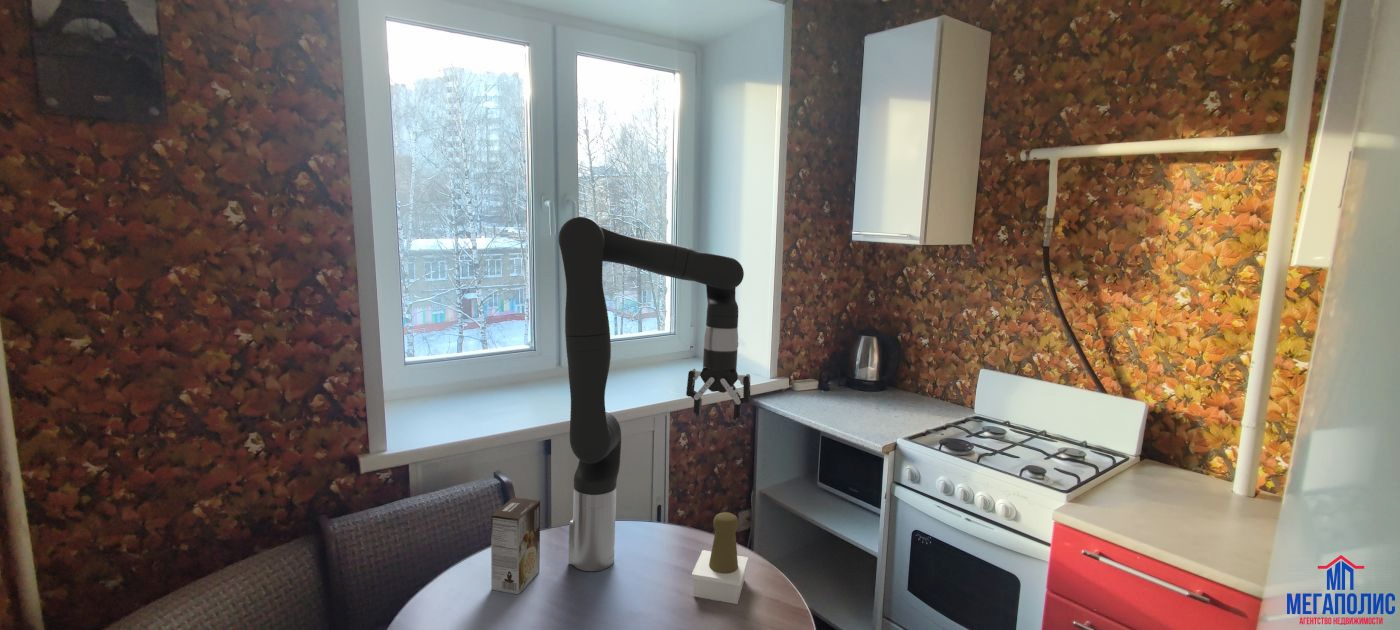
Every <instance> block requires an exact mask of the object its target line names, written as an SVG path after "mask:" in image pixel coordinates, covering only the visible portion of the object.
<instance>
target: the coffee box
mask: <svg viewBox="0 0 1400 630" xmlns="http://www.w3.org/2000/svg"><path fill="white" fill-rule="evenodd" d="M490 518H491V522H490V525H491V527H490V534H491V536H490V539H491V540H490V545H491V548H490V549H491V550H490V551H491V553H490V554H491V557H490V558H491V563H490V564H491V567H490V568H491V570H490V571H491V577H490V579H491V584H490V585H491V590H492V591H496V592H497V591H498V592H502V593H509V594H515V595H520V594H521V593H522V591H523V590H524V589H525V588H526V587H527V586H528V585H529V584H530V582H532V581H533V579H534V578H535V577H536V576H537V575H538V573H539V572H540V568H541V567H540V566H541V565H540V564H541V562H540V560H541V553H540V552H541V500H540V499H530V498H525V497H524V498H521V497H512V498H510V499H509V500H508V501H507V502H506V503H504V504H503V505H502V506H500V508H498V509H497V510H496V511H495V512H493V513H492V514H491V515H490Z"/></svg>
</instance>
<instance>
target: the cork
mask: <svg viewBox="0 0 1400 630" xmlns="http://www.w3.org/2000/svg"><path fill="white" fill-rule="evenodd" d="M712 524H713V525H712V526H713V528H714V537H713V540H712V541H713V542H712V547H711V550H710V551H711V557H710V562H709V567H710V568H711V569H712V570H713V571H715V572H717V573H722V574H728V573H733V572H735V571H736V570H737V569H738V559H737V556H738V550H737V549H738V548H737V547H738V546H737V536H736V532H737V531H738V528H739V525H740V524H739V519H738V517H737V516H736V515H735V514H733V513H731V512H727V511H726V512H724V511H723V512H720V513H717V514H716V515H715V516H714V518H713V523H712Z"/></svg>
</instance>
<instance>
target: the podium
mask: <svg viewBox="0 0 1400 630" xmlns="http://www.w3.org/2000/svg"><path fill="white" fill-rule="evenodd" d="M711 551H712V550H705V549H702V551H701V553H700V554H699V557H698V559H697V561H696V564H695V566H694V568H693V570H692V573H691V579H693V580H694V581H693V582H694V583H693V597H696V598H699V599H700V598H701V599H706V600H712V601H717V602H718V601H719V602H723V603H728V604H735V605H738V603H739V600H740V596H741V593H742V589H743V586H744V582H745V577H746V576H745V575H746V570H747V566H748V563H749V557H748V556H743V555H737V559H738V569H737V570H736V571H735V572H733V573H728V574H722V573H717V572H715V571H713V570H712V569H711V568H710V567H709V562H710V557H711Z"/></svg>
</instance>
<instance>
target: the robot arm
mask: <svg viewBox="0 0 1400 630" xmlns="http://www.w3.org/2000/svg"><path fill="white" fill-rule="evenodd" d="M558 245H559V246H558V247H559V249H560V254H561V258H562V265H563V270H564V276H565V286H566V289H565V290H566V294H565V315H564V317H565V318H564V332H565V333H564V334H565V347H566V358H567V369H568V370H567V371H568V372H567V373H568V380H569V381H568V382H569V393H570V416H569V419H570V420H569V444H570V448H571V450H572V452H573V454H574V455H575V457H576V458H577V459H578V464H577V467H576V470H575V473H574V476H573V500H572V501H573V503H572V504H573V505H572V507H573V508H572V519H571V520H570V521H569V524H568V557H567V558H568V563H567V564H568V565H571V566H574V567H575V569H578V570H580V571H583V572H584V571H585V572H599V571H602V570H605V569H607V568H610V566H612V565H613V563H614V561H615V545H616V544H615V543H616V511H617V510H616V508H617V481H618V476H619V473H620V467H621V466H620V465H621V452H622V451H621V450H622V449H621V448H622V429H621V426H620V422H619V421H618V419H617V418H616V417H615V416H614V415H613V414H611V413H610V412H607V411H606V400H605V396H606V387H607V383H608V382H607V380H608V375H609V372H610V365H611V358H612V357H611V356H612V355H611V354H612V347H611V346H612V345H611V329H610V321H609V313H608V308H607V307H608V306H607V303H606V297H605V293H604V286H603V262H606V263H607V262H608V263H613V264H614V263H615V264H620V265H623V266H624V265H625V266H629V267H632V268H636V269H640V270H644V271H647V272H650V273H653V274H657V275H661V276H665V277H669V278H673V279H678V280H681V281H682V280H683V281H688V282H689V281H690V282H696V283H699V284H702V285H705V287H706V288H705V290H706V299H707V302H706V303H707V307H706V316H705V317H706V321H705V330H704V331H705V332H704V335H703V338H704V339H703V342H704V343H703V357H702V358H703V359H702V369H701V370H696V368H691V369H690V370H689V371H688V373H687V374H688V376H687V382H686V384H687V385H686V392H685V393H686V397H690V398H692V399H693V414H695V416H696V417H700V416H701V414H702V407H703V406H702V403H703V399H702V396H703V395H704V394H705V393H706V392H707V390H709V391H710V392H711V393H712V392H719V393H721V394H722V393H723V394H725V393H727V394H728V395H729V396H730V397H731V398H732V400H733V401H734V402H735V403H734V404H733V418H732V419H733V420H732V421H736V422H737V421H738V419H740V417H741V416H742V404H745V403H749V401H750V400H751V375H750V374H749V373H746V374H738V370H737V365H738V349H739V348H738V347H739V331H738V328H739V324H738V323H739V306H738V305H739V304H738V303H737V300H736V290H737V289H736V288H737V287H738V286H740V285H741V283H742V282H743V280H744V277H745V271H744V268H743V265H742V264H741V263H740V262H739V261H738V260H737V259H735V258H732V257H729V256H725V255H720V254H719V255H718V254H714V253H713V254H712V253H707V252H702V251H698V250H696V249H693V248H690V247H687V246H682V245H677V244H675V243H669V242H665V241H658V240H654V239H653V240H652V239H647V238H646V239H645V238H639V237H635V236H629V235H625V234H622V233H619V232H616V231H612V230H610V229H608V228H605V227H603V226H600V225H599V224H598V222H596V221H595V220H594V219H592V218H589V217H586V216H574V217H572V218H570V219H567V220H566V221H565V222H564V223H563V225H562V226H561V227H560V231H559V234H558ZM699 377H700V378H701V380H702V382H703V383H704V384H703V385H702V386H701V388H700V389H699V390H698V391H696V390H695V385H696V380H698V379H699ZM737 381H739V382H740V385H742V386H743V387H742V390H743V392H742V393H743V396H741V394H740V392H739V391H738V388H737V387H736V386H735V383H736V382H737Z"/></svg>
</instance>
